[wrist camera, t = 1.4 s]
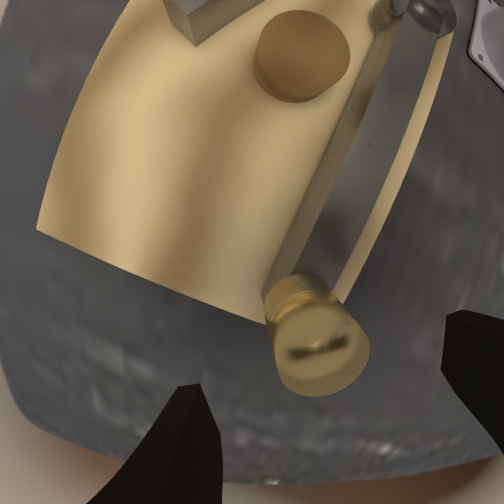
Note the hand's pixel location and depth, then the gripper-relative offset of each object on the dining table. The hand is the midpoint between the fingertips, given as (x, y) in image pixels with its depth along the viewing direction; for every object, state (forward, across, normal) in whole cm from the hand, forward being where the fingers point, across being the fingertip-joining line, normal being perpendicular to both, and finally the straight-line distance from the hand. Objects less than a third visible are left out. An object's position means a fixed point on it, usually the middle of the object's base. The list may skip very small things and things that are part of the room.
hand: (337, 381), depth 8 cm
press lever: (+8, -5, -6) cm, 12 cm away
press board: (+10, -1, -9) cm, 14 cm away
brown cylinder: (+9, -3, -10) cm, 14 cm away
